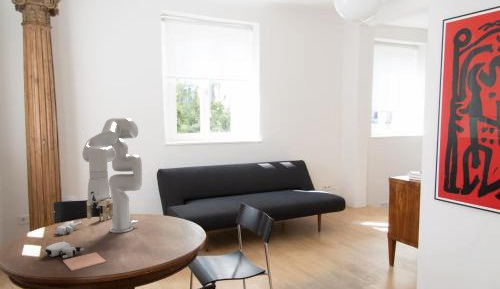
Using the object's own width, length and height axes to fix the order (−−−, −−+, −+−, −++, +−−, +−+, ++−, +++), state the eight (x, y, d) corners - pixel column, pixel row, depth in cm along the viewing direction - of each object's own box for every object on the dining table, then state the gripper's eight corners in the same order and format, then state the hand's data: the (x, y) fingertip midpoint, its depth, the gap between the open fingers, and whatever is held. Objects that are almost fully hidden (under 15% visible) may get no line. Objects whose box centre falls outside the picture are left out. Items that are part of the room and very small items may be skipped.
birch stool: (95, 215, 169) (95, 198, 168) (113, 216, 167) (112, 199, 167) (87, 218, 163) (86, 201, 163) (105, 219, 161) (104, 201, 161)
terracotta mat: (95, 253, 171) (95, 252, 171) (106, 262, 160) (106, 261, 160) (62, 261, 162) (62, 260, 162) (71, 271, 151) (71, 269, 151)
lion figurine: (102, 223, 221) (101, 208, 220) (94, 222, 222) (93, 208, 221) (116, 216, 235) (115, 202, 234) (109, 216, 236) (108, 202, 235)
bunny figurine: (50, 228, 198) (69, 217, 212) (51, 237, 199) (70, 225, 213) (65, 229, 196) (83, 218, 211) (66, 238, 197) (84, 226, 211)
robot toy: (85, 254, 172) (62, 248, 178) (85, 245, 172) (62, 239, 177) (63, 264, 161) (39, 257, 167) (63, 254, 161) (39, 247, 166)
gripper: (102, 172, 173) (103, 210, 174) (78, 177, 156) (80, 219, 158) (116, 172, 171) (118, 210, 173) (94, 178, 155) (96, 220, 156)
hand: (100, 214), depth 165 cm, fingers closed on birch stool, 4 cm apart
